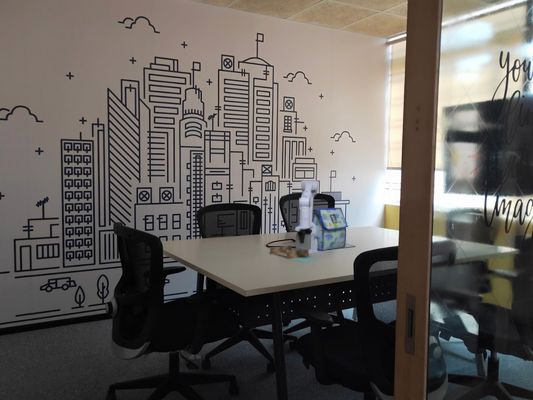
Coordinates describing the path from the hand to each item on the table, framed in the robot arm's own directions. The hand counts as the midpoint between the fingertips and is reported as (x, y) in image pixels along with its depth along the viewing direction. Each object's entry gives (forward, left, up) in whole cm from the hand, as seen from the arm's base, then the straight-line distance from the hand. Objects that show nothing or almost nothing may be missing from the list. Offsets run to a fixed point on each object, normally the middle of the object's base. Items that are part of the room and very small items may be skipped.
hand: (304, 242), depth 248 cm
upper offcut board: (-5, -13, -9) cm, 17 cm away
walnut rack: (-1, -14, -10) cm, 17 cm away
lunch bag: (-38, -18, -10) cm, 43 cm away
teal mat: (0, +1, -10) cm, 10 cm away
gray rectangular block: (0, 0, -3) cm, 4 cm away
